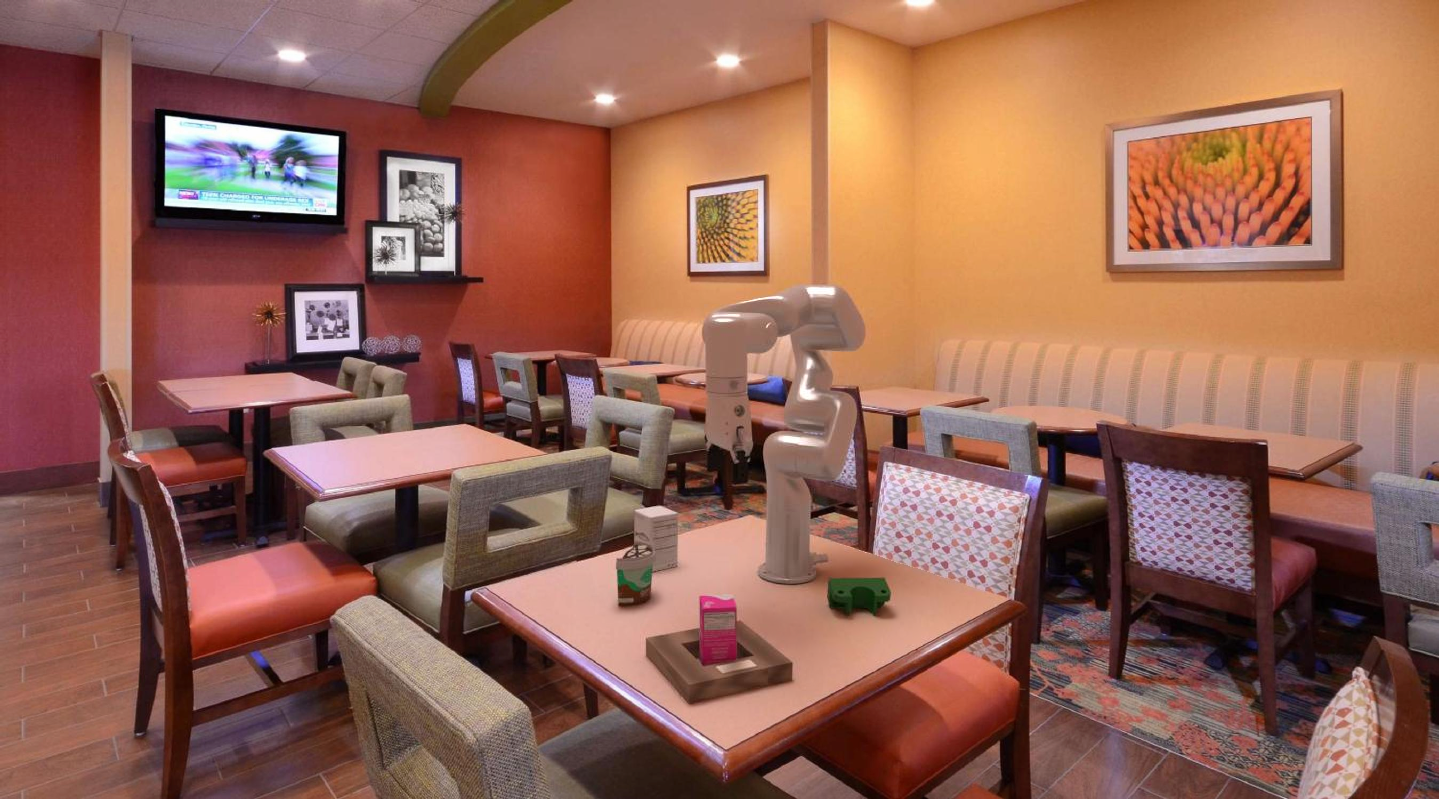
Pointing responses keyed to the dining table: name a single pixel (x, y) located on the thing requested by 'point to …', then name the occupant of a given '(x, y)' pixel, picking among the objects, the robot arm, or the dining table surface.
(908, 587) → the dining table surface
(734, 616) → the supplement box
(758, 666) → the hole board
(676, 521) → the supplement box
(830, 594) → the clamp
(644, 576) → the food container
